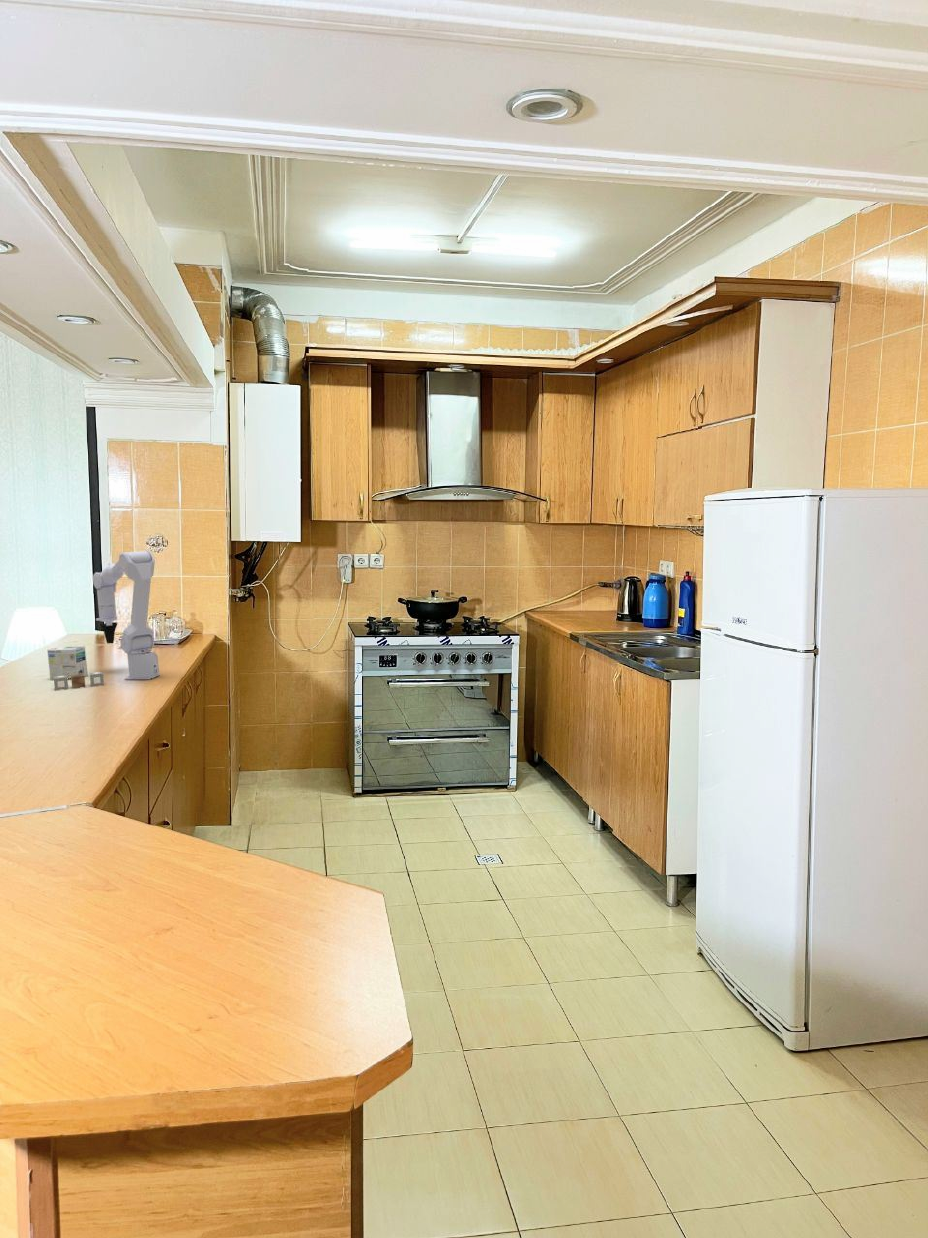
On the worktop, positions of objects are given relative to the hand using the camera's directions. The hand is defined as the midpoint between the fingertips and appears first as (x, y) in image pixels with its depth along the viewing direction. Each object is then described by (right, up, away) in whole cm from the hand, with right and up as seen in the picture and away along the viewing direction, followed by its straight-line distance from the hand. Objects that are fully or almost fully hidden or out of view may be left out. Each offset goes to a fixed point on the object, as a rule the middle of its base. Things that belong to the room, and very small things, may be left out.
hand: (110, 643), depth 320 cm
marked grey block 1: (-6, -14, -26) cm, 30 cm away
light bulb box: (-11, -12, -7) cm, 18 cm away
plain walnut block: (-1, -14, -24) cm, 28 cm away
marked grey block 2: (+4, -14, -22) cm, 26 cm away
